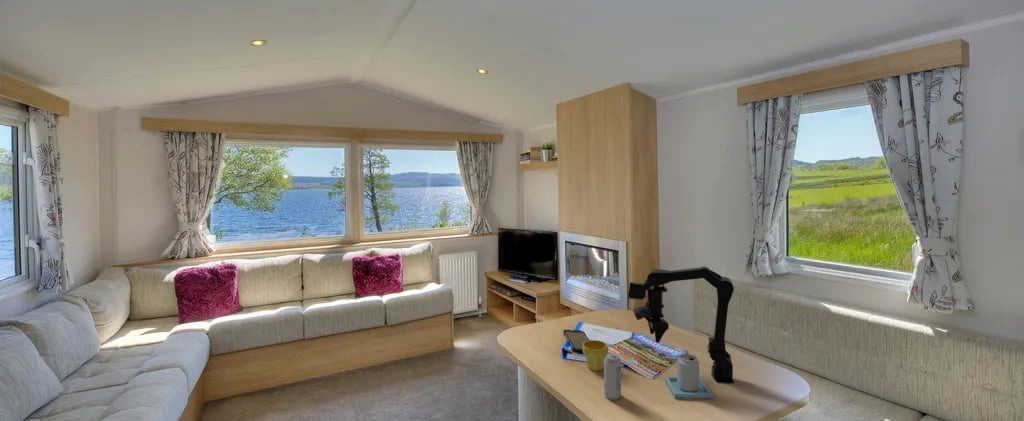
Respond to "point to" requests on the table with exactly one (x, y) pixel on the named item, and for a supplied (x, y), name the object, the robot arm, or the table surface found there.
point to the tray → (680, 394)
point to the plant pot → (595, 354)
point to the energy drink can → (612, 376)
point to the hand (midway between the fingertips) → (654, 338)
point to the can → (688, 373)
